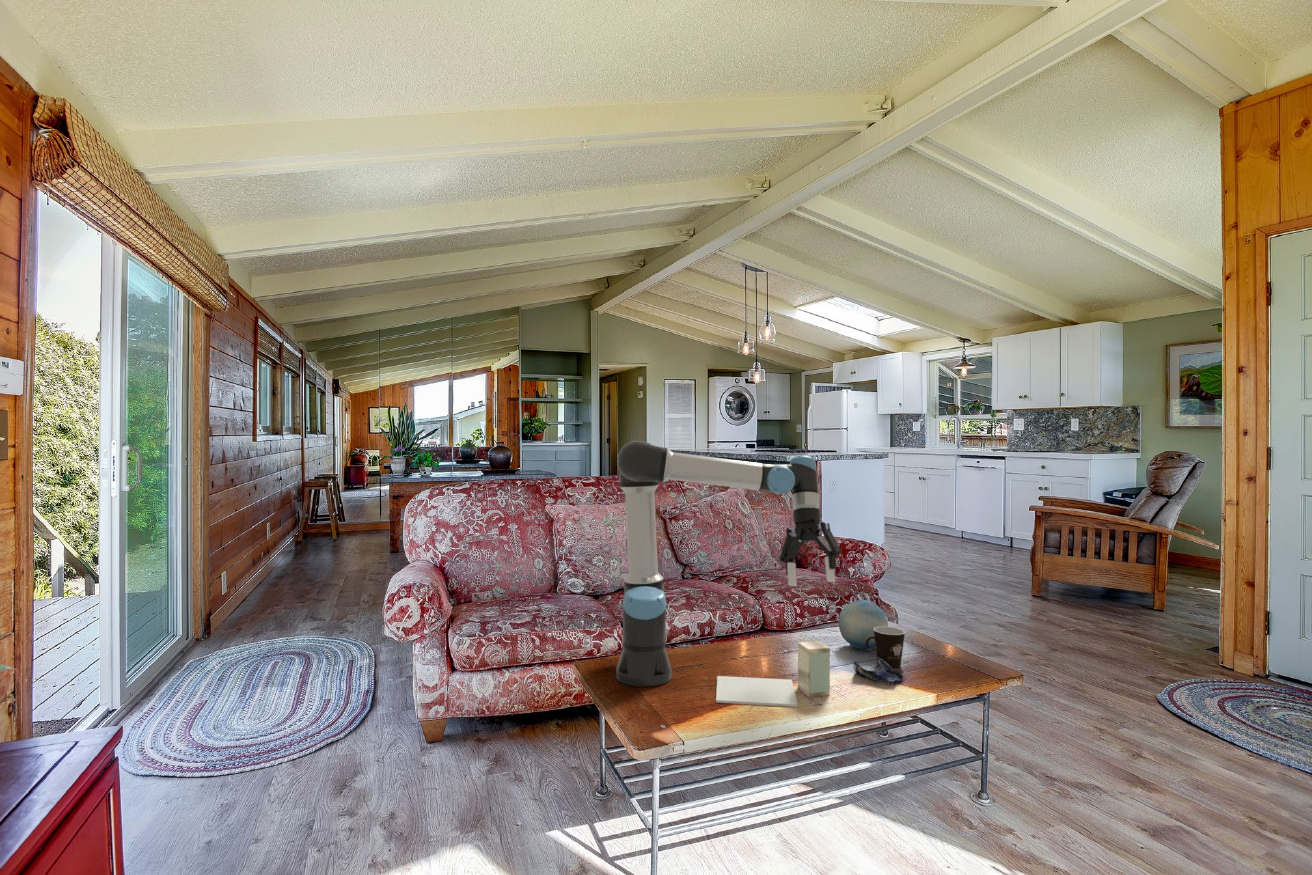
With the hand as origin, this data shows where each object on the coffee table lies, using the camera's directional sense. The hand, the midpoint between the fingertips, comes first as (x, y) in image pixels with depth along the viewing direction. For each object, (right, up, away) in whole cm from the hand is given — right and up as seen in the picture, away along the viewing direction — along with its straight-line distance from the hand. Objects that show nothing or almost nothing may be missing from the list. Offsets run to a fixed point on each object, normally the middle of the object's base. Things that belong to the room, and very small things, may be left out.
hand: (811, 583), depth 184 cm
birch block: (-3, -25, -13) cm, 28 cm away
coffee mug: (+23, -26, +8) cm, 35 cm away
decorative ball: (+22, -26, +23) cm, 41 cm away
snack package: (+18, -26, -4) cm, 32 cm away
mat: (-18, -25, -14) cm, 34 cm away
